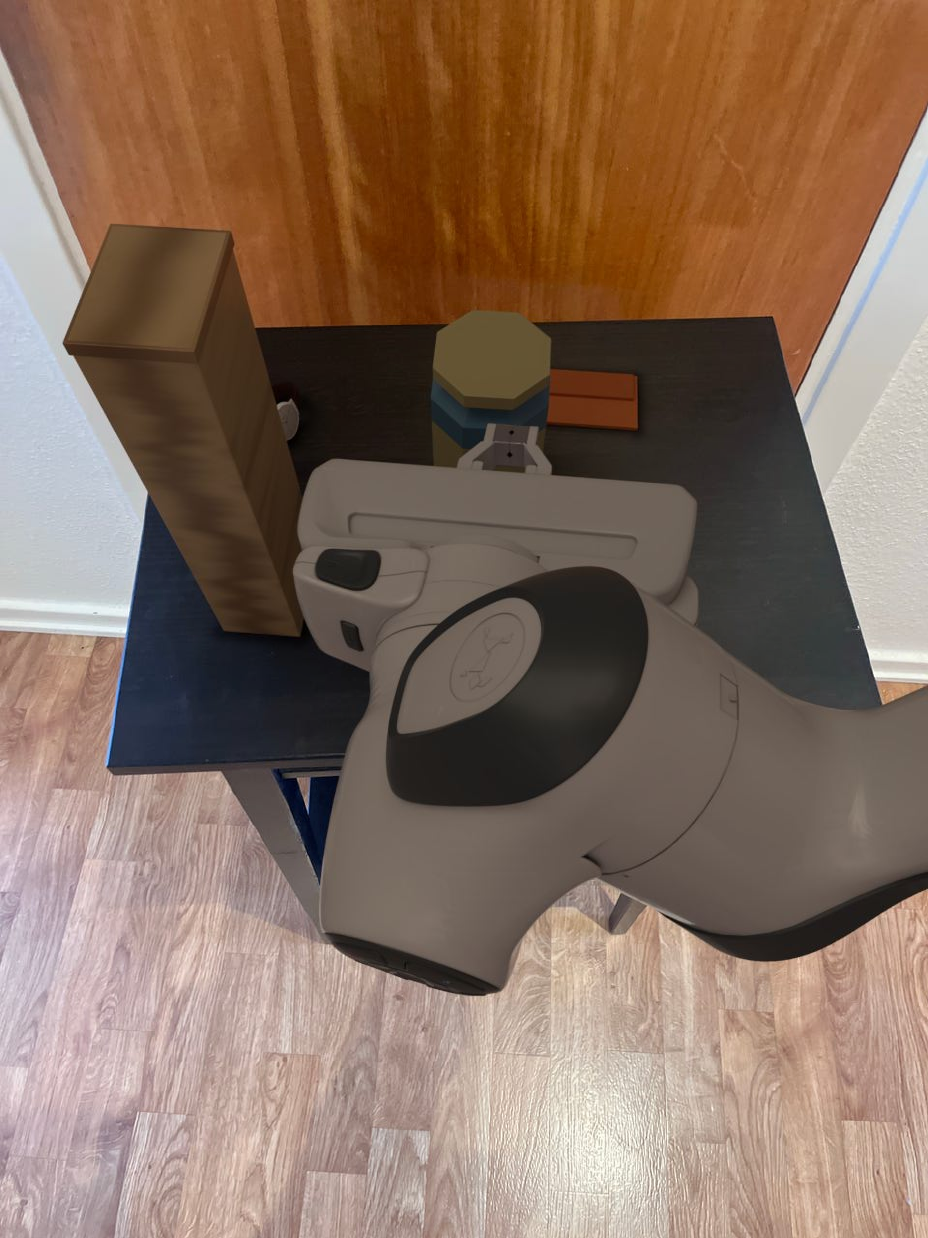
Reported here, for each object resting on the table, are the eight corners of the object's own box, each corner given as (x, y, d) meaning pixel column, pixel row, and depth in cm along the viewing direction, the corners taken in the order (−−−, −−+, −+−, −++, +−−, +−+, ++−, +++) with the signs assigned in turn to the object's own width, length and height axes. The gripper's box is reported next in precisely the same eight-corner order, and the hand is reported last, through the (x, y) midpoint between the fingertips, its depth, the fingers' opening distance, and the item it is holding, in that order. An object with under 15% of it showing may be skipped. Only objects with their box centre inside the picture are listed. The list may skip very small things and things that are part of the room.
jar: (462, 425, 76) (463, 289, 62) (558, 463, 74) (579, 331, 60) (413, 502, 72) (402, 374, 59) (512, 544, 70) (524, 422, 57)
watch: (270, 469, 73) (261, 442, 70) (224, 449, 74) (213, 421, 71) (317, 407, 77) (311, 378, 73) (272, 389, 78) (264, 359, 74)
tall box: (318, 548, 70) (231, 230, 43) (301, 638, 66) (194, 351, 39) (243, 542, 70) (110, 222, 43) (222, 632, 66) (61, 342, 40)
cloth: (636, 379, 78) (638, 372, 78) (637, 430, 75) (638, 424, 75) (483, 368, 79) (483, 362, 78) (478, 419, 76) (478, 413, 75)
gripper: (710, 611, 37) (710, 400, 45) (258, 567, 40) (333, 377, 48) (688, 688, 42) (691, 487, 50) (288, 644, 45) (352, 461, 53)
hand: (513, 433), depth 49 cm, fingers closed
